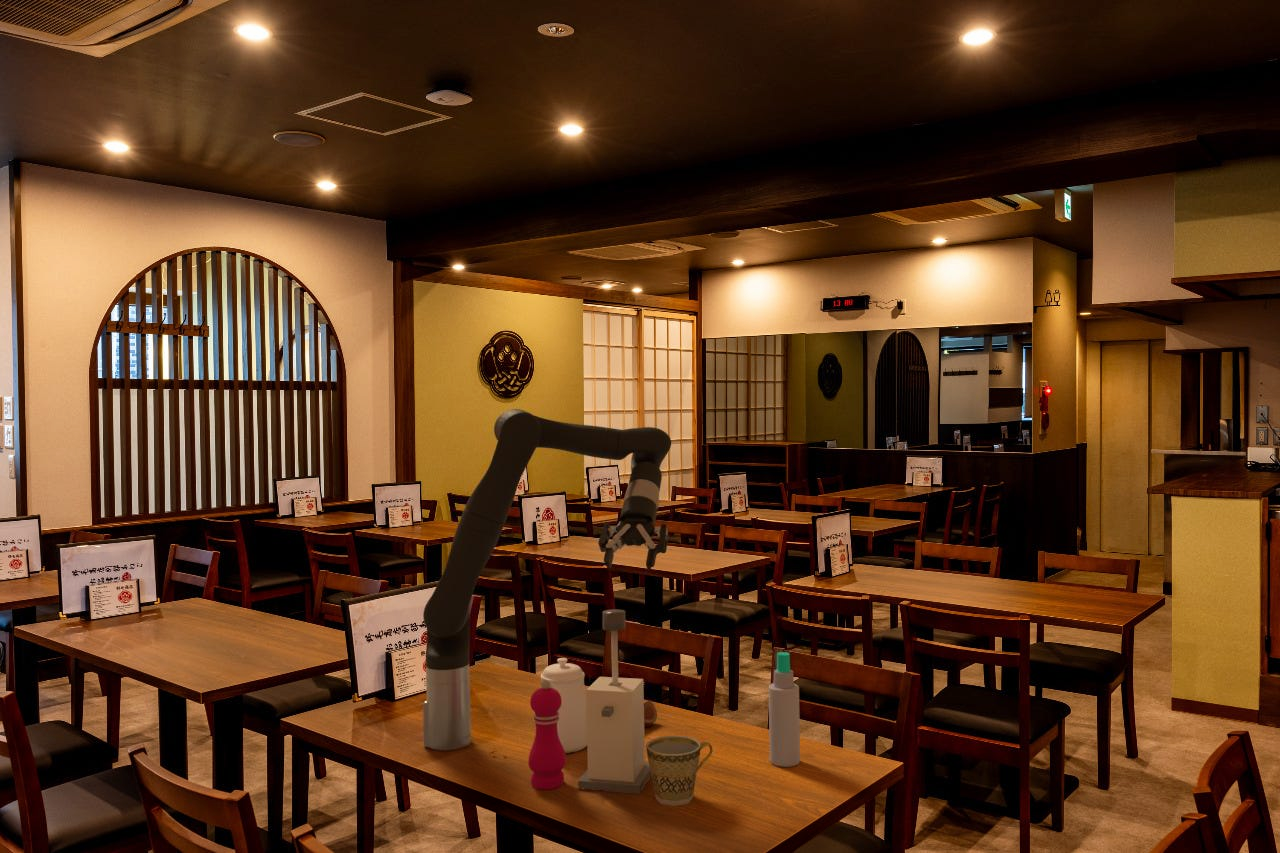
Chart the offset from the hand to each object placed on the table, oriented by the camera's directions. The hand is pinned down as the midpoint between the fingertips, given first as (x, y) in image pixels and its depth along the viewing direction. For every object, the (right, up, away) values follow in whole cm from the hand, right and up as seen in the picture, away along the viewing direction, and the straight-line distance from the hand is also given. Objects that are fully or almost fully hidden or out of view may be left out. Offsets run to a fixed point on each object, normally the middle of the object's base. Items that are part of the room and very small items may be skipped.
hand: (628, 566), depth 194 cm
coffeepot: (-14, -40, +8) cm, 43 cm away
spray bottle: (+32, -39, -3) cm, 50 cm away
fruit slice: (+2, -39, +20) cm, 44 cm away
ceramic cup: (+10, -40, -20) cm, 46 cm away
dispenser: (-2, -40, -11) cm, 41 cm away
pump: (-2, -28, -11) cm, 30 cm away
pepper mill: (-15, -40, -12) cm, 45 cm away
